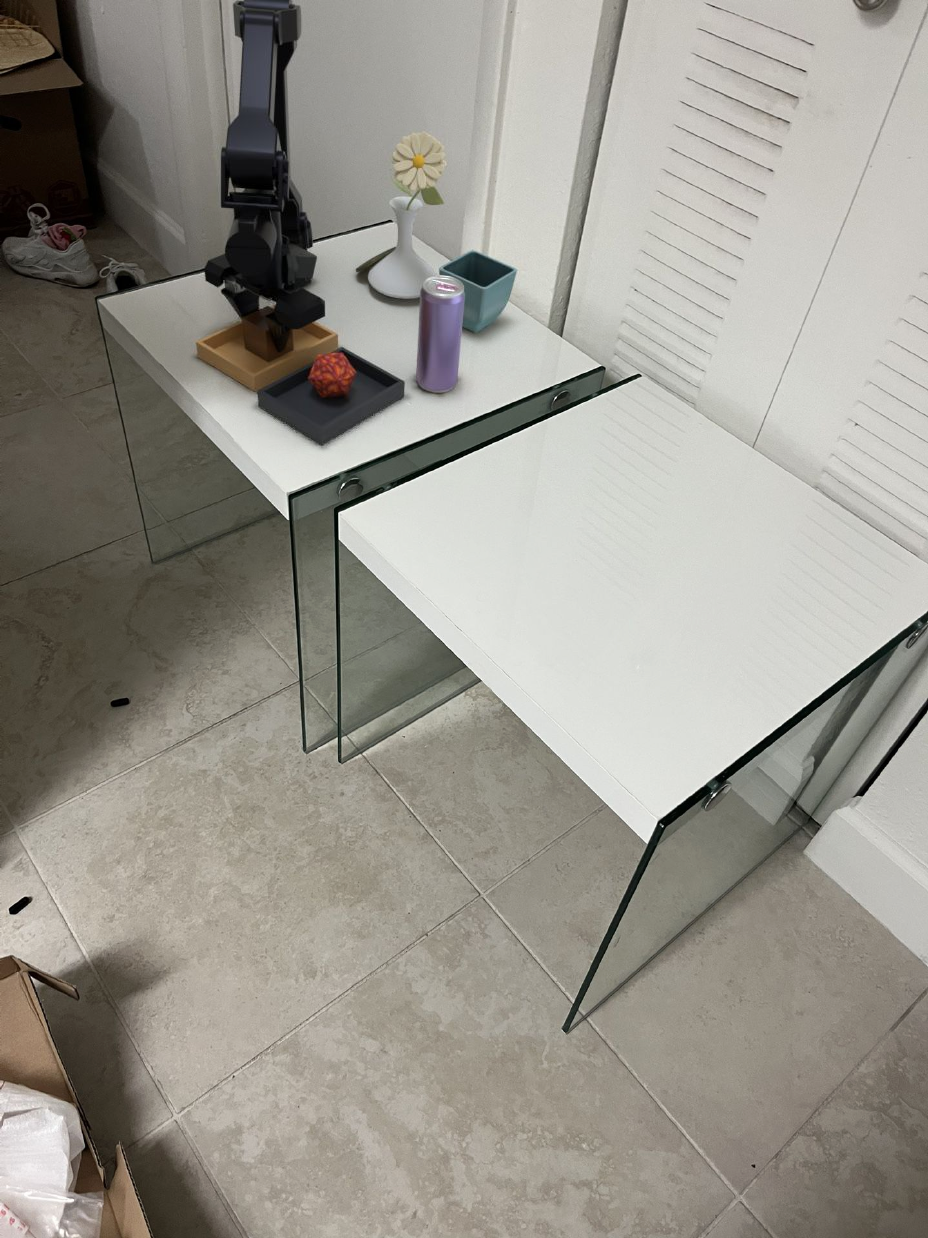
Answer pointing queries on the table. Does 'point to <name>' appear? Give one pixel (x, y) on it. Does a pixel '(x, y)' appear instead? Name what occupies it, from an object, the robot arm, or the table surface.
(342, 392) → the decorative stone
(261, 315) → the walnut block
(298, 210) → the robot arm
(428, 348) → the beverage can
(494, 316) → the flower pot
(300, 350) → the wood tray
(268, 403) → the stone tray
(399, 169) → the flower in vase
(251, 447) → the table surface
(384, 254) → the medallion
